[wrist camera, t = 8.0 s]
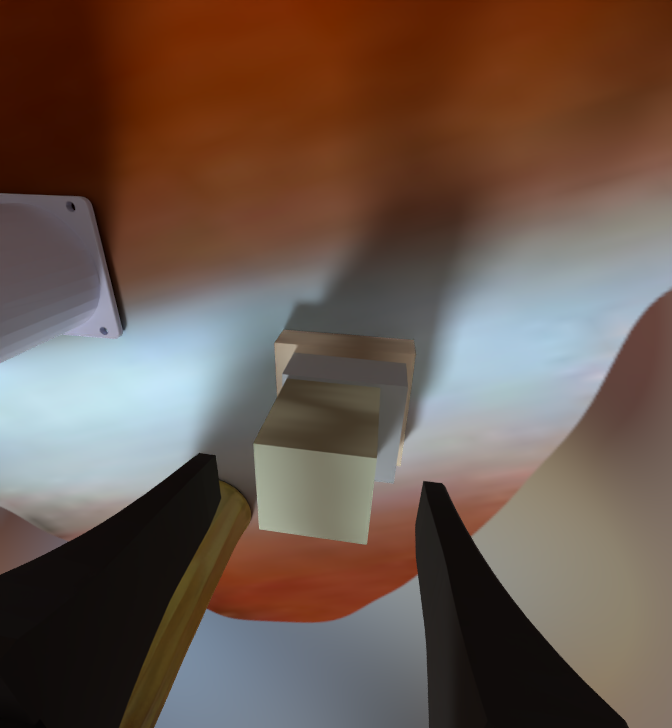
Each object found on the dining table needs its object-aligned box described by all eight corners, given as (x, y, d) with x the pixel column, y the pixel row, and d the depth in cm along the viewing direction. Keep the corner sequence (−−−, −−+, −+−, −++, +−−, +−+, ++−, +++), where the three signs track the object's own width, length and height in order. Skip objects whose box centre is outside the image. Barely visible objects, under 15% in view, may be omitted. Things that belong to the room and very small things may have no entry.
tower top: (294, 441, 23) (284, 469, 21) (293, 352, 20) (282, 373, 18) (393, 453, 22) (393, 483, 20) (406, 363, 20) (408, 386, 17)
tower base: (289, 428, 26) (279, 452, 24) (286, 326, 22) (274, 342, 20) (399, 440, 25) (400, 466, 23) (413, 335, 22) (415, 354, 19)
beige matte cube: (288, 451, 20) (259, 529, 16) (286, 378, 18) (253, 443, 14) (372, 461, 20) (366, 544, 15) (380, 387, 18) (377, 458, 13)
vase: (226, 467, 27) (82, 717, 15) (266, 525, 30) (170, 786, 17) (162, 485, 29) (-16, 722, 16) (204, 539, 31) (75, 784, 19)
